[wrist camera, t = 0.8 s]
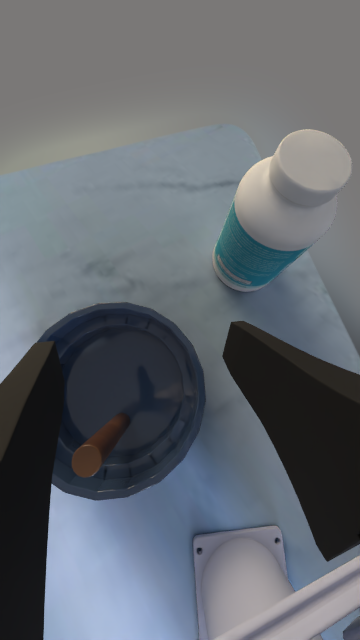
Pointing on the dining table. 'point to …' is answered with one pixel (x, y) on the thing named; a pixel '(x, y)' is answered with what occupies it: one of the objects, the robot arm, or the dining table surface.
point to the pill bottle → (281, 209)
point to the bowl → (125, 396)
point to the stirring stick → (99, 446)
